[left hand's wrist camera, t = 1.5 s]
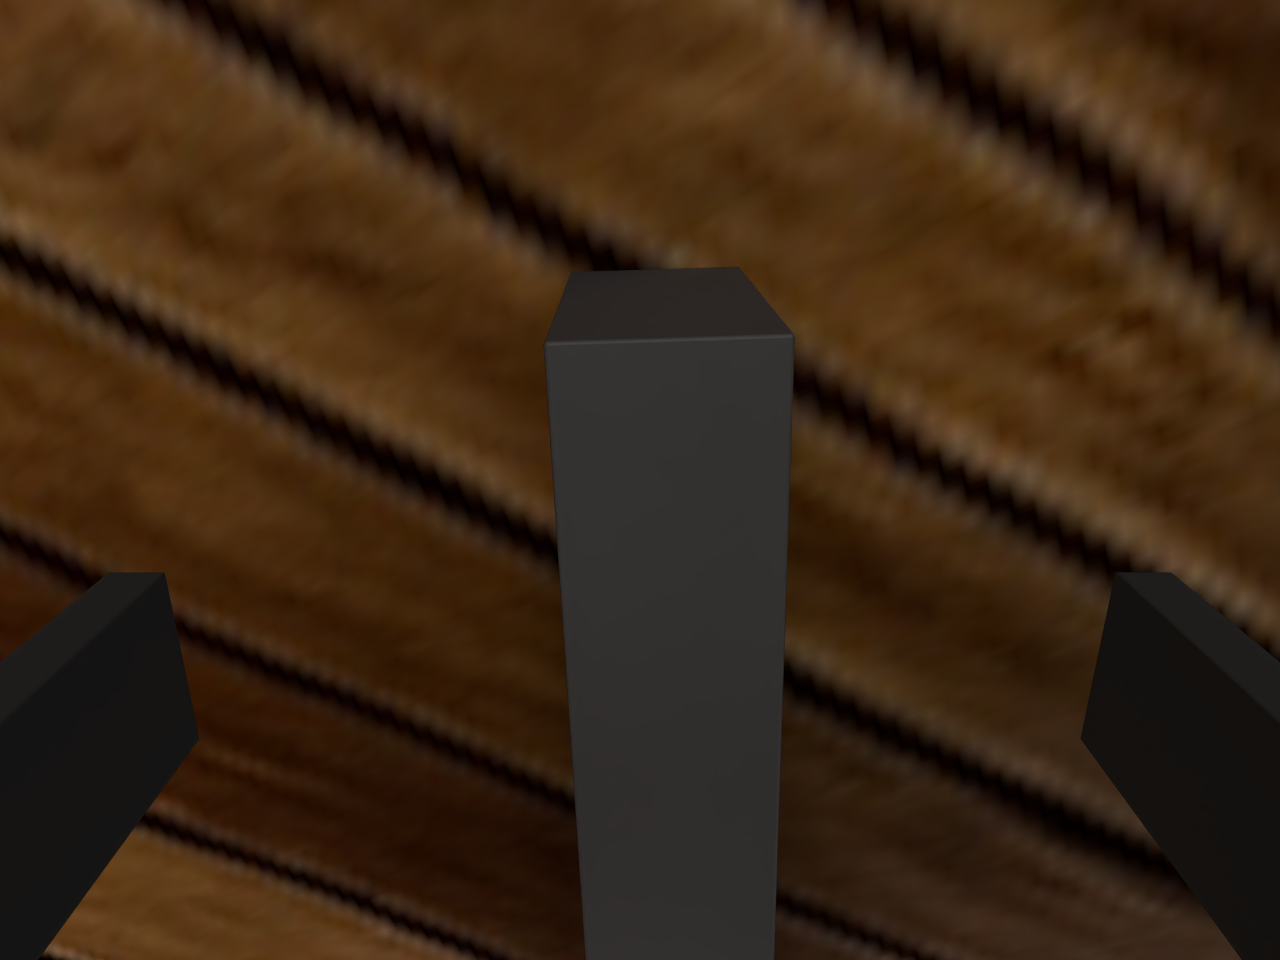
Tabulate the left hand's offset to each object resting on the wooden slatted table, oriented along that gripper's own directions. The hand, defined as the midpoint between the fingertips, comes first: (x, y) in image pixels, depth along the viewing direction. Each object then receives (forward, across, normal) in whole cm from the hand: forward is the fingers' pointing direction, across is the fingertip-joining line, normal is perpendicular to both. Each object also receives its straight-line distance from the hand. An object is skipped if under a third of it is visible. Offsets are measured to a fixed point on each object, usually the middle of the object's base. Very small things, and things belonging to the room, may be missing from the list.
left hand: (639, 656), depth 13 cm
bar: (+15, +1, -9) cm, 17 cm away
